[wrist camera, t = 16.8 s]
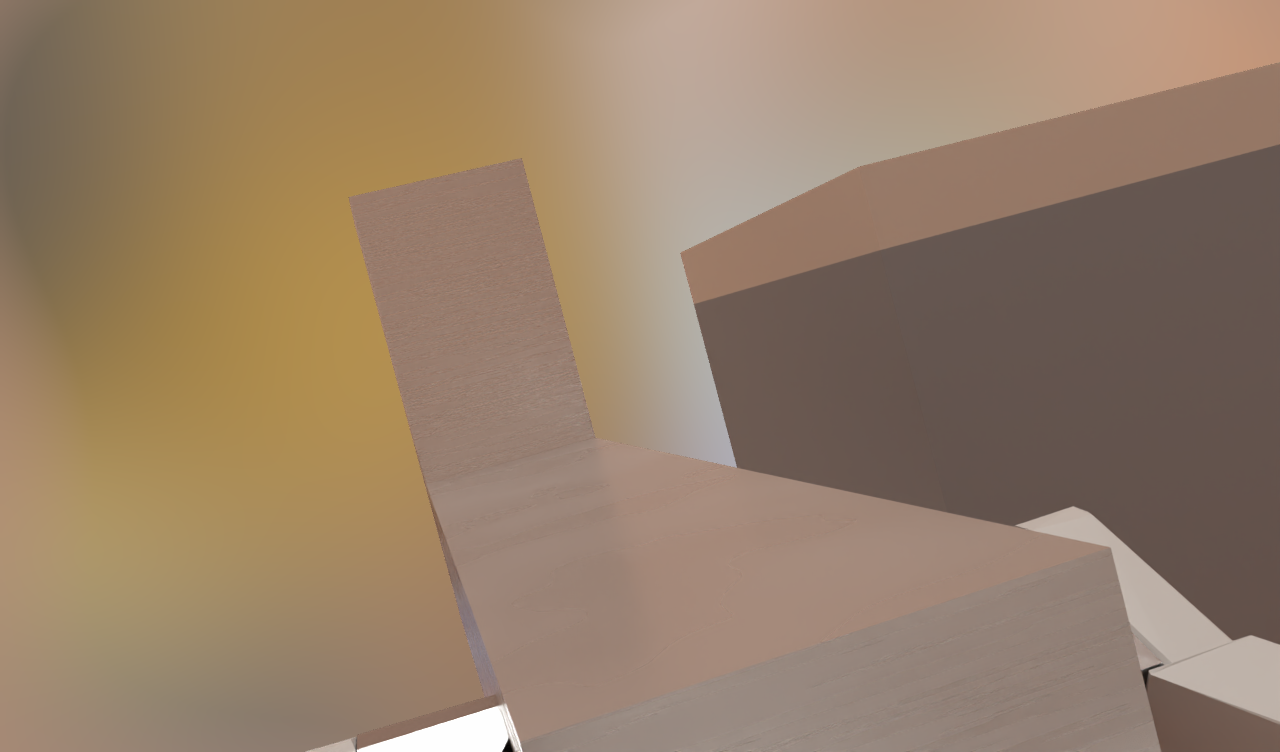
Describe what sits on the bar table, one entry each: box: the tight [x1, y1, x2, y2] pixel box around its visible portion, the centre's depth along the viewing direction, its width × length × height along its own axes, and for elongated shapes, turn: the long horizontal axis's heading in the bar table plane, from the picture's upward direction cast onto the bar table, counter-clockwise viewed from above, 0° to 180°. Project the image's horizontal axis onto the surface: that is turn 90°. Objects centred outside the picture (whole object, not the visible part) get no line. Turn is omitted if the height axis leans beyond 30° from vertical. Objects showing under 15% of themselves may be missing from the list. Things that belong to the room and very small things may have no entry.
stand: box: [681, 63, 1280, 645], centre depth 28 cm, size 10×13×26 cm
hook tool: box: [349, 159, 1161, 752], centre depth 14 cm, size 3×18×8 cm, turn 12°
